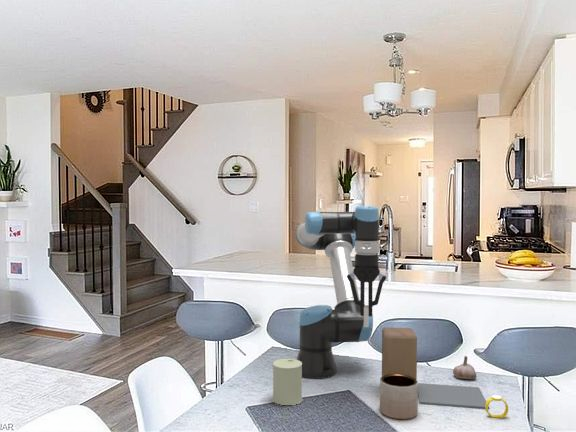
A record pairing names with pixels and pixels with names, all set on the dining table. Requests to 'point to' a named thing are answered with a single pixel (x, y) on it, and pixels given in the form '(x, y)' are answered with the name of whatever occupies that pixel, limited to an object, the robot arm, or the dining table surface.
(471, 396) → the mat
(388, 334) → the wooden block
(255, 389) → the dining table surface
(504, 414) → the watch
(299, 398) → the can
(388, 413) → the planter
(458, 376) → the garlic bulb
